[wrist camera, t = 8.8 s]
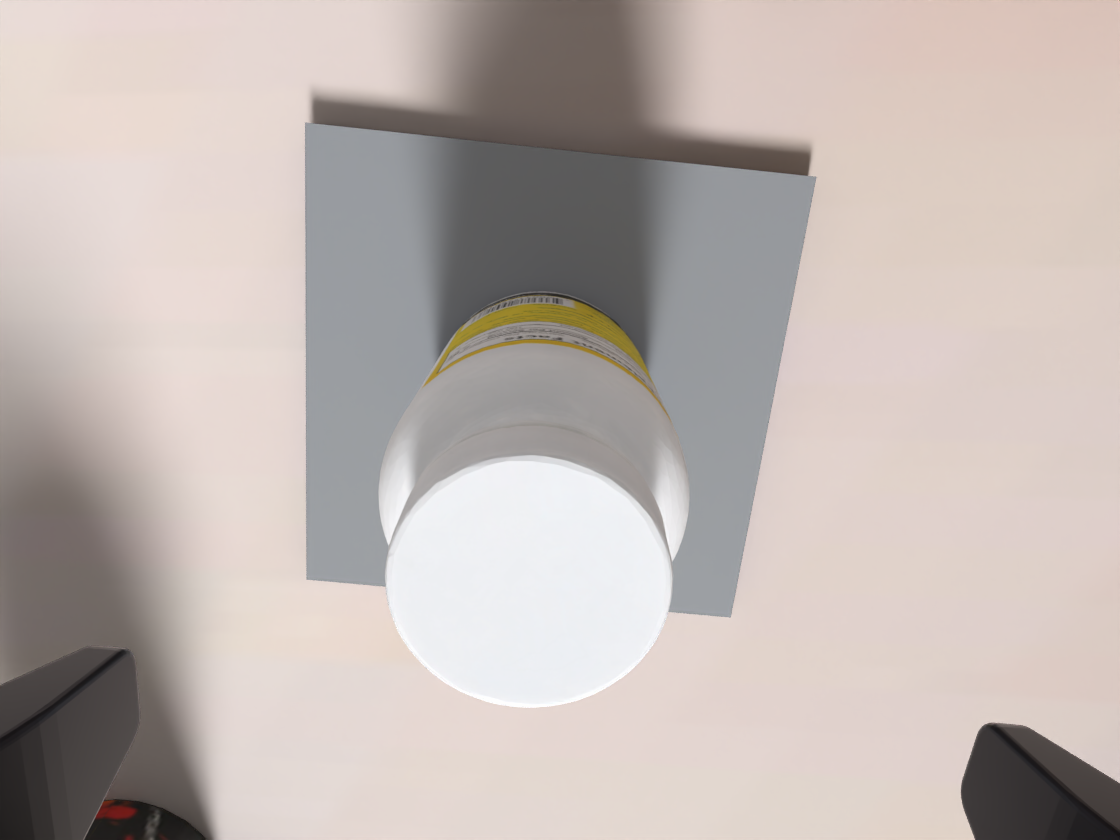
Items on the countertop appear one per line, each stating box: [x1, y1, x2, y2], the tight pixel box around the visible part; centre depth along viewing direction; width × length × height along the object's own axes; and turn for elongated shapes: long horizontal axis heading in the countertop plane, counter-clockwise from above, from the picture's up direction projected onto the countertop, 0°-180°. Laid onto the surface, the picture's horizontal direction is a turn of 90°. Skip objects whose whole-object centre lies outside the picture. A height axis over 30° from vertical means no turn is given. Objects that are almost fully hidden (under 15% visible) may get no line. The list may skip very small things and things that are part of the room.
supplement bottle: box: [378, 291, 690, 707], centre depth 15 cm, size 5×5×10 cm
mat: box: [305, 123, 816, 617], centre depth 20 cm, size 12×12×1 cm
